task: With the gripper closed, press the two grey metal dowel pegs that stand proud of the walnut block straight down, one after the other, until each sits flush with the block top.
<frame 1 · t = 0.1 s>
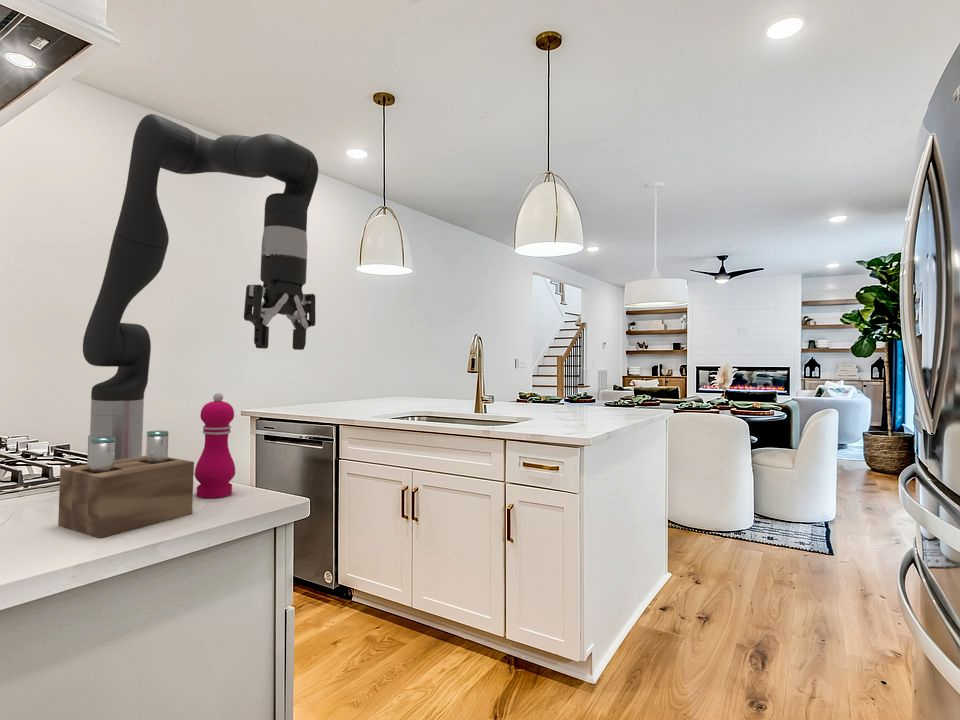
hand: (280, 349, 95), 29 cm above the countertop, fingers open, 8 cm apart
front peg: (102, 463, 85), point 10 cm above the countertop, slide at 5.0 cm
rear peg: (156, 454, 94), point 10 cm above the countertop, slide at 5.0 cm
walnut block: (128, 519, 90), on the countertop
pepper mill: (214, 495, 107), on the countertop
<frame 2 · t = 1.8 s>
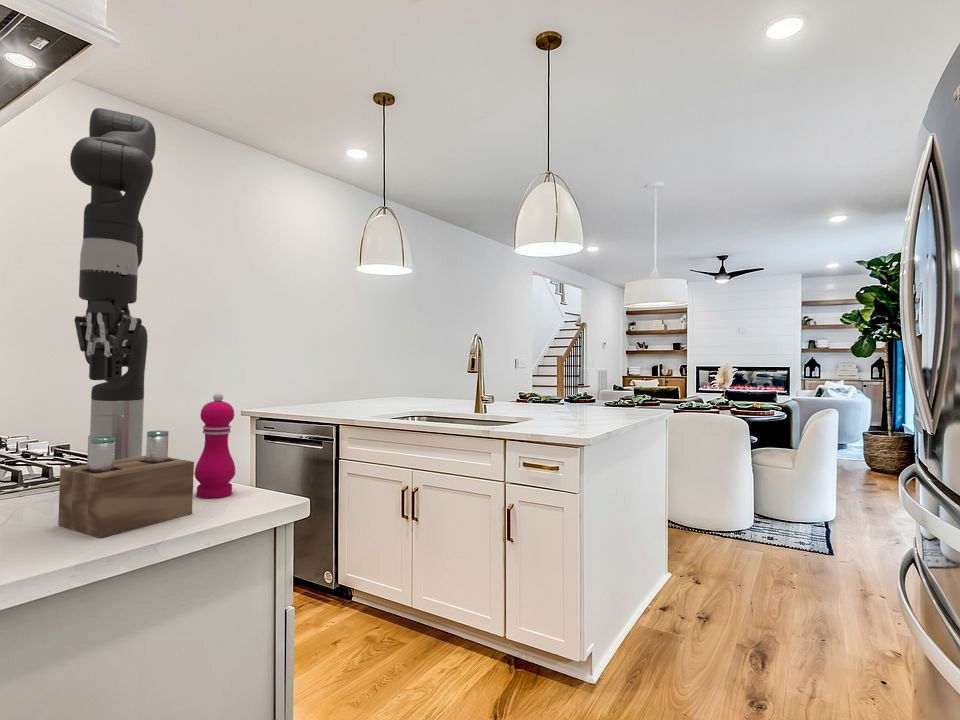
hand: (105, 380, 85), 23 cm above the countertop, fingers open, 3 cm apart
nothing on the countertop moved.
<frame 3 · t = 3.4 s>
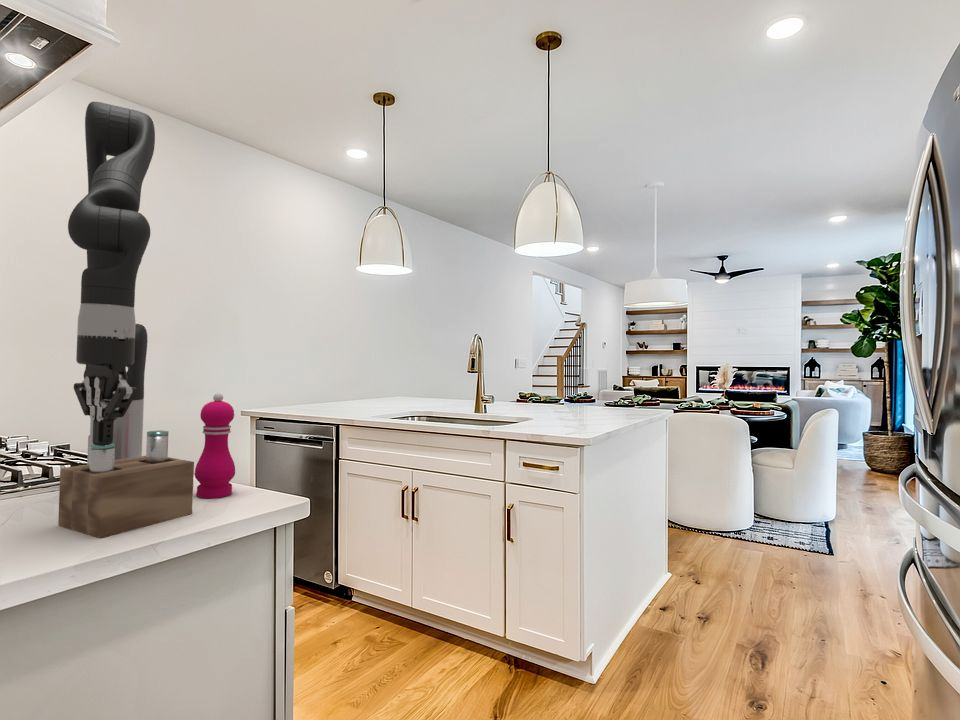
hand: (102, 444, 85), 13 cm above the countertop, fingers closed
front peg: (101, 469, 85), point 9 cm above the countertop, slide at 4.0 cm, touching gripper
everything else where it was.
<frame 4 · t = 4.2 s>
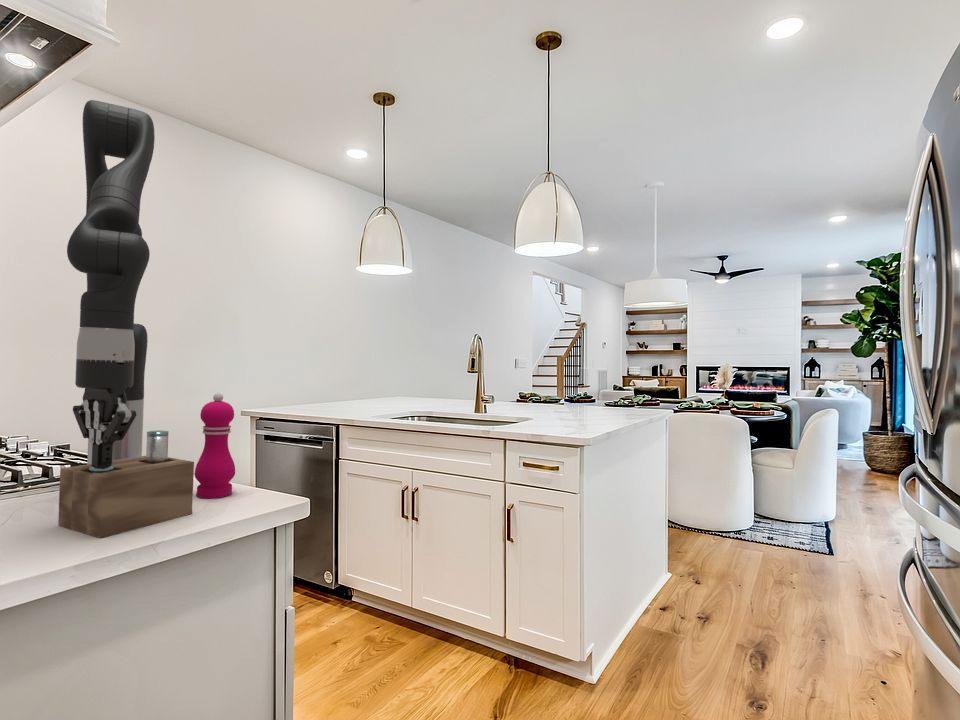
hand: (101, 467, 85), 9 cm above the countertop, fingers closed
front peg: (100, 492, 85), point 5 cm above the countertop, slide at 0.4 cm, touching gripper
everything else where it was.
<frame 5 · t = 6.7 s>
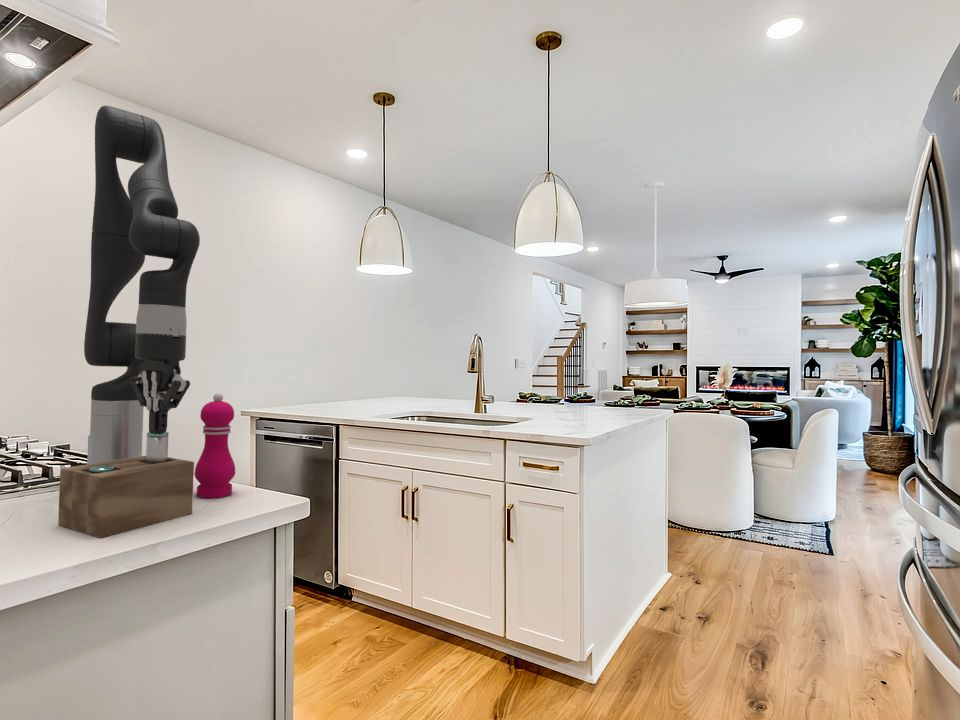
hand: (157, 432, 94), 14 cm above the countertop, fingers closed
front peg: (100, 492, 85), point 5 cm above the countertop, slide at 0.3 cm
rear peg: (156, 455, 94), point 10 cm above the countertop, slide at 4.8 cm, touching gripper
everything else where it was.
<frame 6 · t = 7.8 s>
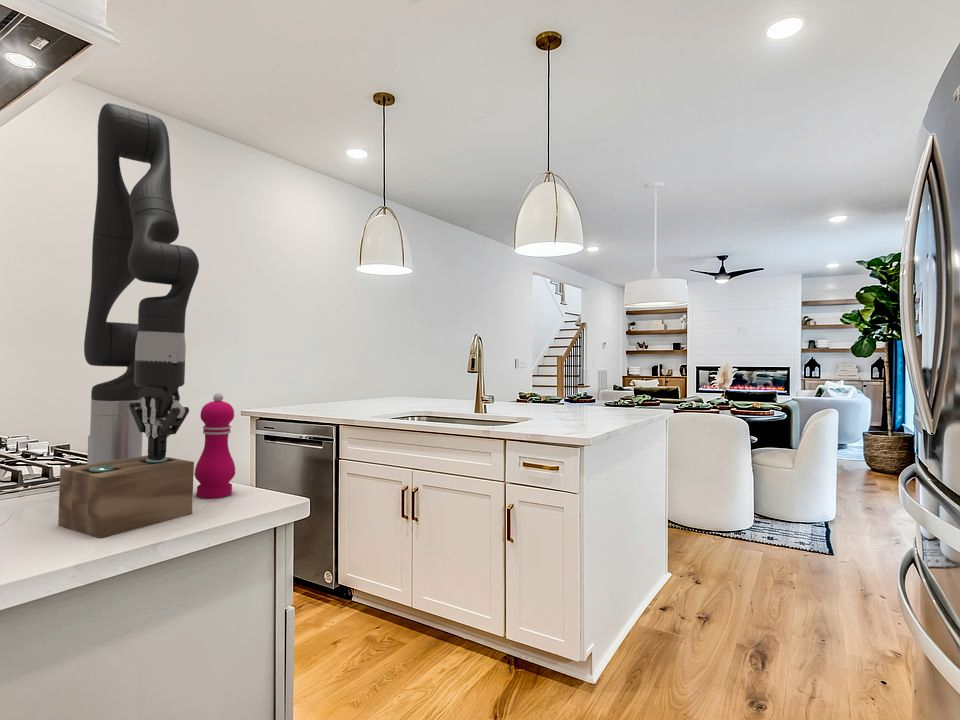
hand: (156, 458, 94), 9 cm above the countertop, fingers closed
rear peg: (155, 481, 94), point 5 cm above the countertop, slide at 0.3 cm, touching gripper
everything else where it was.
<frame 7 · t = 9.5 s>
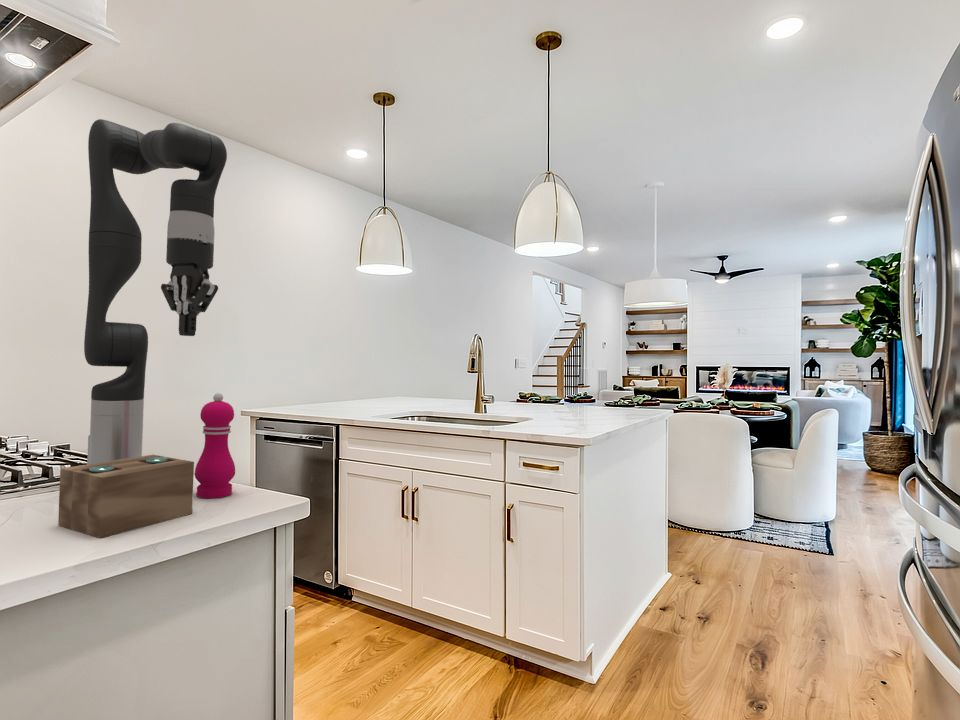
hand: (187, 335, 98), 31 cm above the countertop, fingers closed
rear peg: (155, 481, 94), point 5 cm above the countertop, slide at 0.3 cm
everything else where it was.
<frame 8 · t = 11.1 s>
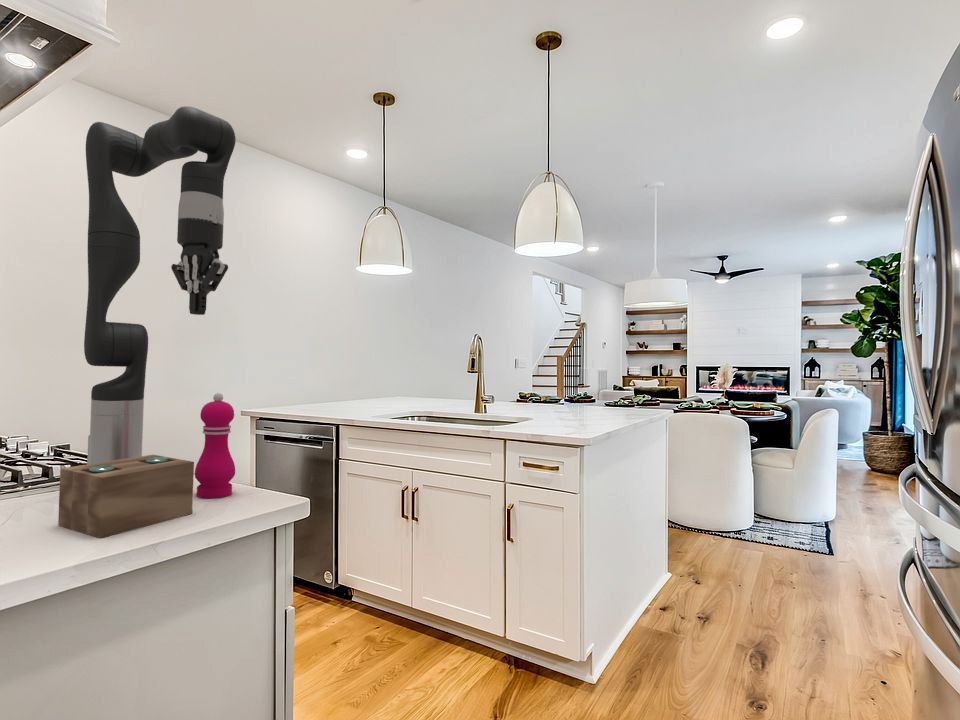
hand: (197, 314, 101), 35 cm above the countertop, fingers closed
nothing on the countertop moved.
at the end: front peg slide at 0.3 cm; rear peg slide at 0.3 cm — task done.
